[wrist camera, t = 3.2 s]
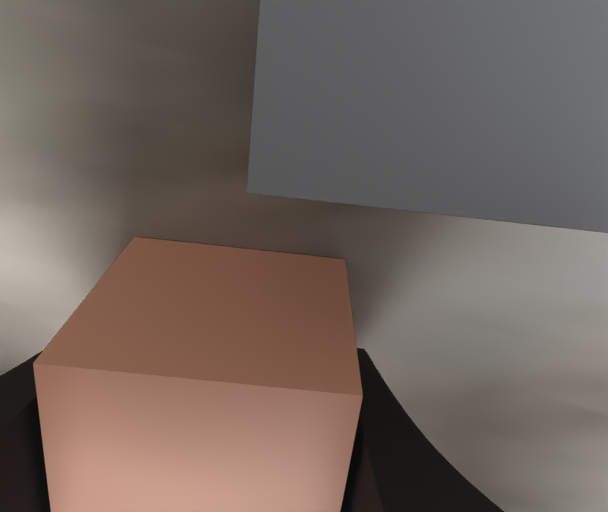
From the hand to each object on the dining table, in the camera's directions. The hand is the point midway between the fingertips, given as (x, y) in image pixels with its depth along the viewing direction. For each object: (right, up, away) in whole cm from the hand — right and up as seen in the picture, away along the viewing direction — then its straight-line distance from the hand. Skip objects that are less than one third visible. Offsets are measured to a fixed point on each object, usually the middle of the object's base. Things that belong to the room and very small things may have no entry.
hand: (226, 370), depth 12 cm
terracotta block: (0, +1, +1) cm, 1 cm away
